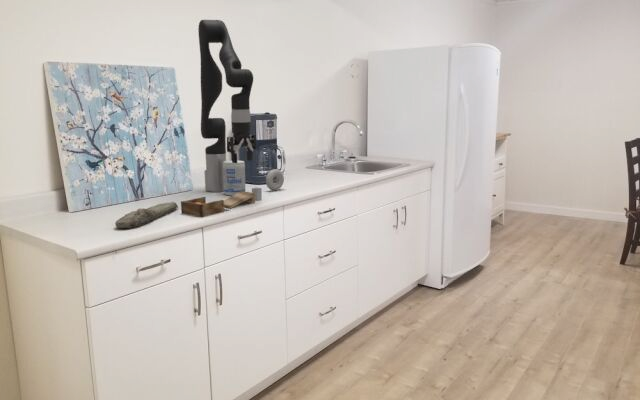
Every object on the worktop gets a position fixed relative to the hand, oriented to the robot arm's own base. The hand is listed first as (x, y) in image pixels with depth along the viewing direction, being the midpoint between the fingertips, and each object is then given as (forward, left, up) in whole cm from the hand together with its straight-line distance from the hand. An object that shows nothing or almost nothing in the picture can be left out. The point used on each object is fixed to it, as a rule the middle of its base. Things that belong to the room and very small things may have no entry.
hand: (242, 161), depth 206 cm
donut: (+1, +30, -17) cm, 34 cm away
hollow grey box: (+2, +7, -17) cm, 19 cm away
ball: (-8, -23, -17) cm, 30 cm away
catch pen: (-7, -21, -17) cm, 28 cm away
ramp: (-1, -4, -17) cm, 17 cm away
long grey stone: (-21, -34, -18) cm, 43 cm away
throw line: (-5, -13, -17) cm, 22 cm away
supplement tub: (-13, +17, -17) cm, 27 cm away
